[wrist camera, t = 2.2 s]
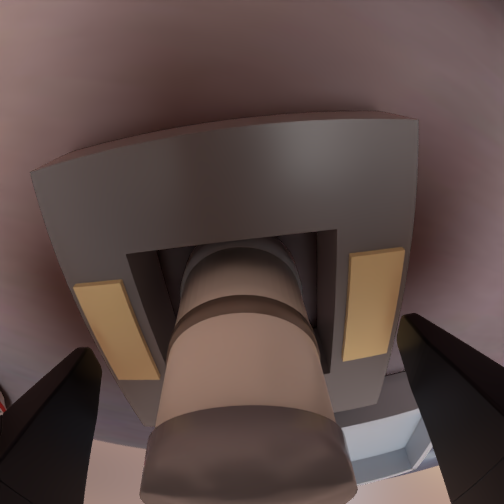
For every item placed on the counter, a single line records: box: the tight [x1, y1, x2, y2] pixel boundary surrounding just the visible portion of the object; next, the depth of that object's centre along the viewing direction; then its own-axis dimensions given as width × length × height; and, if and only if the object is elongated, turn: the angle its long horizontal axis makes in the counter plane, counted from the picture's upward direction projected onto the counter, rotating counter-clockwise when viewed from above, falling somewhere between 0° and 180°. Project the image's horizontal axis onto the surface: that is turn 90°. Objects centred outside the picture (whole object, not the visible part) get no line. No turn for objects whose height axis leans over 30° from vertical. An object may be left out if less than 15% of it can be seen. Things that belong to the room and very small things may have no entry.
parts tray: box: [334, 371, 433, 486], centre depth 16 cm, size 13×10×2 cm
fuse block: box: [30, 111, 419, 427], centre depth 10 cm, size 10×11×3 cm
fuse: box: [140, 236, 358, 504], centre depth 8 cm, size 4×4×8 cm
